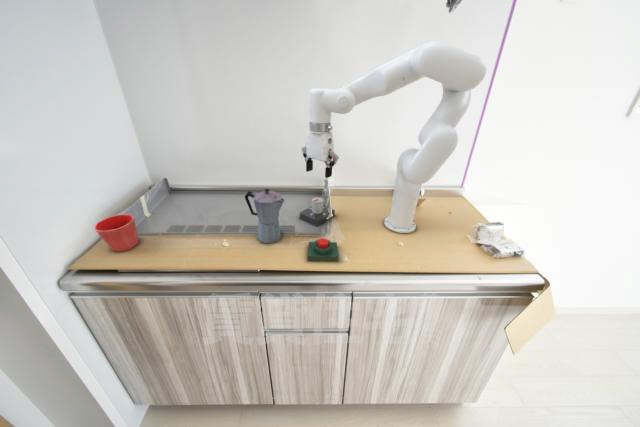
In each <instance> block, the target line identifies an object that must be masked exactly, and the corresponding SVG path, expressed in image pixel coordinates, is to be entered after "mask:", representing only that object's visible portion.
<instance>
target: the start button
mask: <svg viewBox="0 0 640 427" xmlns="http://www.w3.org/2000/svg"><path fill="white" fill-rule="evenodd" d="M317 240H318V247H319V248H327V247H328V240H329V239H327V238H324V237H323V238H319V239H317Z"/></svg>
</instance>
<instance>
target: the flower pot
mask: <svg viewBox="0 0 640 427" xmlns="http://www.w3.org/2000/svg"><path fill="white" fill-rule="evenodd" d="M94 230H95V231H96V233H97V234H98V235H99V236H100V238H101V240H103V241H104V242H105V243H106V244H107V246H108V247H109V248H110V249H111V250H112V251H113V252H124V251H125V252H126V251H128V250H131V249H132V248H134V247H135V246H137V245H138V243H139V236H138V229H137V226H136V222H135V217H134V216H133V215H132V214H128V213H127V214H124V213H122V214H116V215H112V216H109V217H106V218H104V219H102V220H100V221H98V222H97V223H96V224H95V225H94Z"/></svg>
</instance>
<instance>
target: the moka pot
mask: <svg viewBox="0 0 640 427" xmlns="http://www.w3.org/2000/svg"><path fill="white" fill-rule="evenodd" d="M249 197H250V198H252V199H253V203H254V208H255V212H254V210H253V207H252V204H251V202H250V199H249ZM244 199H245V202H246V204H247V206H248V208H249V211H250V214H251V215H252V216H256V217H257V219H258V224H257V235H256V239H257V240H258V241H259V242H261V243H263V244H274V243H276V242H278V241H279V240H280V239H281V237H282V235H281V234H282V232H281V227H280V220H279V216H280V210H281V208H282V206H283V204H284V203H285V202H286V200H285V199H284V198H283V197H281V193H279V192H277V191H274V190H270V189H269V188H264V190H263V191H260V192H256V191H255V192H253V191H251V190H249V191H248V192H246V193H245V195H244Z"/></svg>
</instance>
